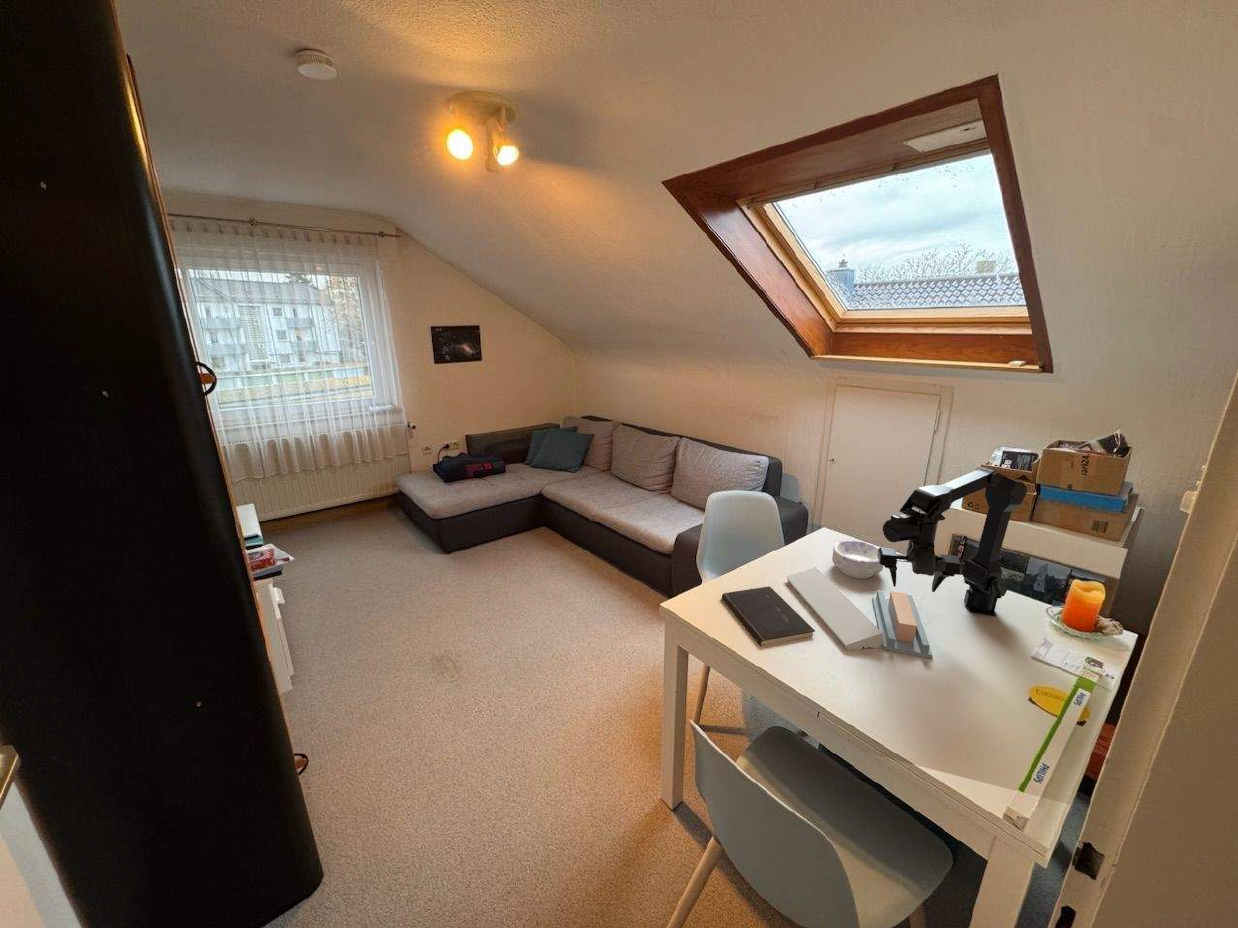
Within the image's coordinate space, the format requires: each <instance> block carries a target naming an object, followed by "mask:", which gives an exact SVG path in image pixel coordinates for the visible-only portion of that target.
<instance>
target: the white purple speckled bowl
mask: <svg viewBox="0 0 1238 928" xmlns="http://www.w3.org/2000/svg"><path fill="white" fill-rule="evenodd" d="M879 548H880V547H878V546H877V545H874V544H873V543H869V542H866V541H861V540H854V539H847V540H840V541H837V542H836V543H835V544H834V545H833V550H832V558H831V559H832V563H833V564H834V566H836V568H838V569H839V570H840V572H842V573H843V574H845V575H846V576H848V577H852V578H854V579H868V578H871V577H873V576H874V575H877V574H880V573H881V572H882V571H883V570H884V565H881V564H879V560H878V556H877V553H878V549H879Z"/></svg>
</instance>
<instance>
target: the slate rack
mask: <svg viewBox="0 0 1238 928" xmlns="http://www.w3.org/2000/svg"><path fill="white" fill-rule="evenodd" d="M875 596H876V597H875ZM875 596H872V597H871V601H872V604H873V605H872V606H873V610H874V615H875V619H876V625H877V628H878V629H879V630H880V631H881V632H882V633H883V639H884V644H883V645H882V647H881V648H882V650H885V651H891V652H895V653H901V654H907V655H912V656H918V657H921V658H926V659H933V652H932V649H931V647H930V643H929V640H928V637H927V634H926V630H925V628H924V625H923V623H922V618H921V617H920V614H919V612H918V611H919V610H918V609H917V608H918V607H917V605H916V604H915V603H916V602H915V600H914V598H913V595H911V594H907V597H908V600H909V603H910V606H911V609H912V613H913V616H914V619H915V622H916V625H917V627H916V632H915V638H914V643H912V642H907V641H902V640H897V639H896V637H895V633H894V629H893V625H892V621H891V616H890V612H889V608H888V604H889V598H886V597H885V593H884V591H883V590H880V589H877V591H876V595H875Z"/></svg>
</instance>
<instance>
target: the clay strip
mask: <svg viewBox="0 0 1238 928" xmlns="http://www.w3.org/2000/svg"><path fill="white" fill-rule="evenodd" d="M889 592H890V594H889V598H888V599H889V604H888V608H889V612H890V616H891V621H892V625H893V629H894V633H895V637H896V639H897V640H902V641H907V642H912V643H914V638H915V632H916V627H917V625H916V622H915V619H914V616H913V613H912V609H911V606H910V603H909V600H908V597H907V595H908V594H907V593H905V592H900V591H892V590H890V591H889Z"/></svg>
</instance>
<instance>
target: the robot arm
mask: <svg viewBox="0 0 1238 928" xmlns="http://www.w3.org/2000/svg"><path fill="white" fill-rule="evenodd" d="M983 489H984V498H985V501H986V503H987V506H988V509H987V513H986V516H985V521H984V525H983V528H982V533H981V535H980V539H979V543H978V547H977V550H976V553H975V555H974V556H972V557H971V558H970V559H965V561H964V566H962V563H961V561H960V559H959V558H958V557H957V556H956V555H951V554H943V553H941V554H939V555H937V554H936V553H935V552H936V551H935V541H936V535H937V529H938V523H939V522H940V521H941V522H942V521H945V520H946V517H945V516H944V515H943V514H944V513H945V512H946V511H948V510H949V509H951V506H952V504H953V503H954V502H956V501H958V500H960V499H963V498H965V497H968V496H970V495H972V494H974V493H976V492H979V491H981V490H983ZM1027 492H1028V487H1027V485H1026V484H1025V483H1024V482H1023V481H1020V480H1019V479H1018V480H1017V479H1014V478H1010V477H1009V476H1008V477H1007V476H1005V475H1003V474H1002V473H1001V472H1000V471H998V470H995V469H992V468H988V467H985V466H982V467H981V466H979V467H977V468H976V469H975V470H973V471H971V472H969V473H967V474H964V475H962V476H959V477H956V478H954V479H952V480H950V481H947V482H945V483H943V484H933V485H932V484H930V485H925V486H921V487H917V488H916V489H914V490H913V491H912V493H911V494H910V495H909V497H908V498H907V500H906V501H905V503H904V504H903V505H902V507H901V508H900V509H899V512H900V513H901V514H893V515H891V516H890V519H888V520H885V522H884V523H883V525H882V533H883V535H884V537H885V539H886V540H887V541H889V542H890V543H900V542H905V541H908V542H907V547H906V554H902V553H897V552H896V549H895V548H891V547H882V546H880V547H878V548H879V549H878V553H877V556H878V560H879V564H881V565H883V568H885V569H888V570H889V573H890V577H891V581H892V585H893V587H896V586H897V570H898V566H897V564H898V562H903V563H909V564H910V563H911V568H912V569H911V571H912V572H913V574H915V575H926V576H928V577H933V579H932V583H931V592H932V593H935V592H936V591H937V589H938V588H939V586H940V585H941V584H942V582H944V580H945V579H947V578H949V577H955V575H957V576H960V575H962V577H963V580H964V581H963V582H964V584H966V585H968V586H969V588H968V589H966V590H965V594H964V599H963V602H964V604H965V606H966V607H967V610H968V612H970V613H975V614H981V615H988V616H993V617H997V612H996V606H997V603H998V599H1002V597H1005V595H1006V594H1007V591H1008V588H1007V586H1006V585H1005V584H1004V583H1003V582H1002V575H1003V571H1002V568H1001V564H1000V562H999V556H1000V554H1001V551H1002V547H1003V544H1004V540H1005V536H1006V533H1007V530H1008V526H1009V521H1010V518H1011V514H1012V512H1013V511H1014V510H1015V509H1017V508H1018V507H1020V506H1021V505H1022V504H1023V503H1024V499H1025V498H1026V496H1027V494H1028V493H1027ZM913 508H914V509H913ZM917 510H918V511H917Z"/></svg>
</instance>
